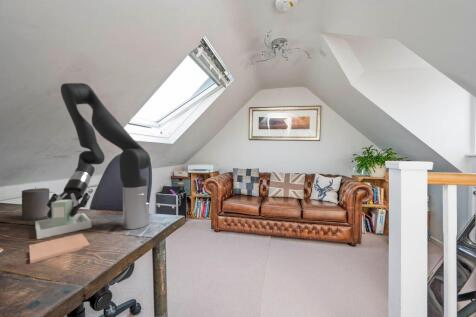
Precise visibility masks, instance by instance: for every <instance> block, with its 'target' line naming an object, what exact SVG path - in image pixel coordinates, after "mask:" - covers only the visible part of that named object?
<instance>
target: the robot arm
mask: <svg viewBox="0 0 476 317" xmlns="http://www.w3.org/2000/svg"><path fill="white" fill-rule="evenodd" d="M60 93H61V97H62V101H63V102H64V105H65V107H66V109H67V111H68V114H69V116H70V119H71V120H72V123H73V125H74V128H75V132H76V134H77V138H78V142H79V145H80V147H82V148H83V149H87V150H84V151H82V152H81V153H80V154H79V155H78V162H77V167H76V168H75V170H74V171H73V174H72V175H71V176H70V177H69V179H68V181H67V183H66V185H65V186H64V188H63V192H61V193H60V194H57V193H55V192H54V193H53V194H52V195H51V197H49V202H48V203H47V206H48V207H49V212H48V213H47V217H48V218H49V219H51V218H52V202H55V201H58V200H70V199H72V200H73V203H74V207H73V208H72V210H71V212H70V214H69V215H70V216H71V217H74V215H76V214H78V211H79V209H80V208H86V206H87V204H88V202H89V200H90V198H91V196H90V194H89V192H86V190H87V189H88V186H89V184H90V182H91V179H92V176H93V175H94V173H95V167H94V166H93V165H101V164H103V163H104V162H105V159H106V158H105V154H104V152H103V150H102V148H101V147H100V145H99V143H98V140H97V137H96V132H97V133H99V135H100V136H101V137H102V138H103V139H105V141H108V142H110V143H111V144H113V145H115V146H116V147H117V148H119V149H121V151H122V152H121V154H120V155H119V160H118V161H119V163H118V164H119V176H120V181H121V183H122V224H123V226H122V227H123V229H125V230H136V229H140V228H143V227H146V226H148V225H150V203H149V202H148V194H147V192H148V186H147V184H148V183H147V182H148V181H147V179H146V178H145V177H142V176H141V170H145V169H147V168H148V167H149V166H150V164H151V156H150V154H149V153H148V151H147V150H146V149H144V147H142V146H141V145H140V144H139V143H138V142H137V141H135V139H134V138H133V137H132V136H131V135H130V134H129V133H128V131H127V130H126V128H124V127H123V126H122V125H121V123H120V122H119V121H118V120H117V119H116V118H115V116H114V115H113V114H112V113H111V112H110V111H109V110H108V108H107V107H106V106H105V105H104V103H102V101H101V99H100V98H99V96H97V94H96V93H95V91H94V90H93V88H92V87H91V86H90V85H88V84H87V83H83V82H82V83H81V82H76V83H75V82H73V83H70V82H67V83H65V82H64V83H63V84H61V86H60ZM77 105H88V106H89V107H90V108H91V110H92V114H91V124H92V125H91V124H90V122H88V121H87V119H86V118H85V117H83V116H82V114H81V113H80V111H79V109H78V106H77ZM95 130H96V132H95ZM80 200H81V201H80Z"/></svg>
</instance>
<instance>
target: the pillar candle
mask: <svg viewBox="0 0 476 317" xmlns="http://www.w3.org/2000/svg"><path fill="white" fill-rule="evenodd" d="M49 200H50V188H47V187H46V188H45V187H42V188H41V187H39V188H37V187H36V186H35V187H34V188H28V189H24V190H21V220H22V221H23V220H24V222H26V221H27V222H28V221H35V220H36V221H37V219H40V218H44V217H48V215H47V213H48V212H49V210H50V208H49V207H48V206H47V203H48V202H49Z"/></svg>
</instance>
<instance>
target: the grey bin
mask: <svg viewBox="0 0 476 317" xmlns="http://www.w3.org/2000/svg"><path fill="white" fill-rule="evenodd" d="M34 222H35V225H34V226H35V234H36V239H37V240H40V239H44V238H45V239H46V238H49V237H53V236H58V235H62V234H63V235H64V234H66V233H67V234H68V233H72V232H77V231H81V230H85V229H91V228H92V219H90V218H89V217H88V216H87V215H86V214H85V212H82V213H76V215H74V224H69V225H64V226H59V227H54V228H52V218H47V219H40V220H36V221H35V220H34Z"/></svg>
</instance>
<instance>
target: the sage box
mask: <svg viewBox="0 0 476 317" xmlns="http://www.w3.org/2000/svg"><path fill="white" fill-rule="evenodd" d="M73 207H74V203H73V200H72V199H70V200H58V201H55V202H52V228H54V227H59V226H64V225H69V224H74V217H71V216H70V215H69V214H70V212H71V210H72V208H73Z"/></svg>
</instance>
